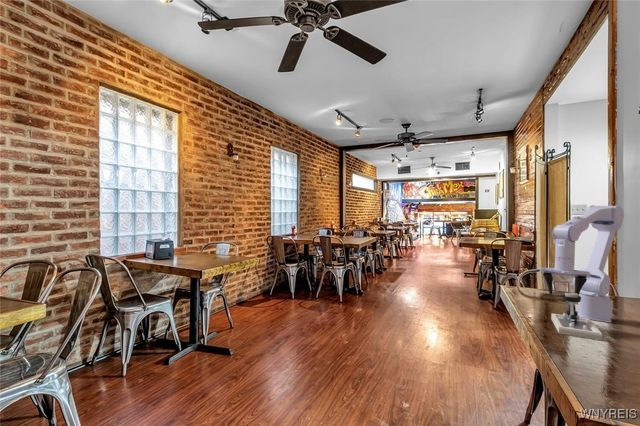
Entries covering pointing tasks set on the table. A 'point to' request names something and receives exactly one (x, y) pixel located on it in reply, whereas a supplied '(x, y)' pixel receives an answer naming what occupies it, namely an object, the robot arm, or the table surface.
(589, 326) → the pin tray
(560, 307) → the table surface
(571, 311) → the push button
